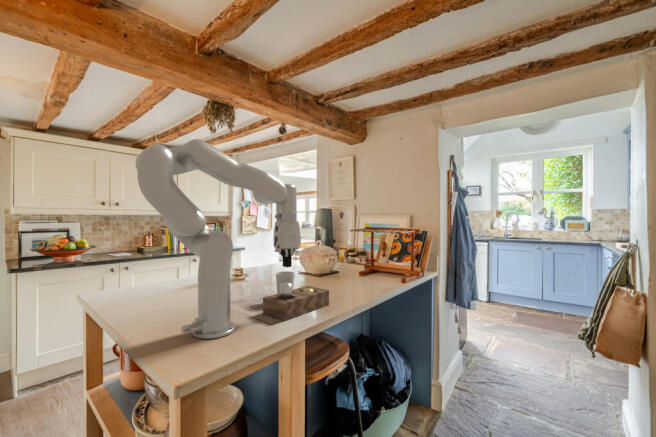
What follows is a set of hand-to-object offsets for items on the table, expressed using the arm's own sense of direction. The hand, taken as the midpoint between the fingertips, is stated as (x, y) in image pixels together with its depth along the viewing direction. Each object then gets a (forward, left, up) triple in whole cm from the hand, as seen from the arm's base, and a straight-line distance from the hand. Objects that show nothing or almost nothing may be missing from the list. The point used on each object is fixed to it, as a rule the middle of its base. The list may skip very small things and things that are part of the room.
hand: (287, 266), depth 109 cm
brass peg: (+12, 0, -17) cm, 20 cm away
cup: (+10, +12, -18) cm, 23 cm away
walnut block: (+6, 0, -17) cm, 18 cm away
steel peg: (0, 0, -12) cm, 12 cm away
